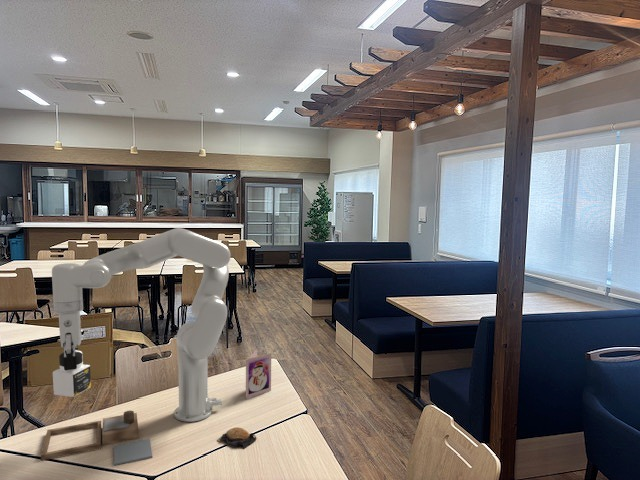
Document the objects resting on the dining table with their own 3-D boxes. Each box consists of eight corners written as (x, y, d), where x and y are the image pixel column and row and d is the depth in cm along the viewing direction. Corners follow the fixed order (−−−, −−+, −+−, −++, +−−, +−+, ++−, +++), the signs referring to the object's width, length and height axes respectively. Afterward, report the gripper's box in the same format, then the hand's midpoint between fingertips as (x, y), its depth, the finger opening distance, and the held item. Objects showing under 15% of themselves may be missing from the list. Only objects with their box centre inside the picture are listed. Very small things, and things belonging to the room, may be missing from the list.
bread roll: (214, 443, 137) (214, 432, 137) (232, 430, 145) (232, 419, 145) (242, 453, 133) (242, 441, 132) (259, 439, 140) (259, 428, 140)
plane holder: (136, 418, 150) (136, 401, 150) (139, 441, 137) (138, 422, 136) (47, 434, 140) (46, 415, 139) (40, 460, 126) (40, 440, 125)
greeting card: (247, 400, 165) (247, 360, 164) (236, 393, 171) (236, 354, 169) (272, 391, 173) (272, 353, 172) (261, 385, 179) (261, 348, 177)
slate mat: (149, 439, 138) (149, 438, 138) (152, 457, 129) (152, 455, 128) (113, 447, 133) (113, 445, 133) (114, 465, 124) (113, 463, 124)
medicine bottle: (74, 397, 130) (72, 357, 129) (53, 395, 132) (50, 355, 130) (91, 387, 137) (89, 349, 136) (71, 385, 139) (69, 347, 137)
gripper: (81, 311, 126) (84, 374, 127) (84, 298, 141) (87, 354, 143) (50, 314, 122) (53, 378, 124) (56, 300, 138) (59, 357, 140)
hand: (71, 364), depth 134 cm, fingers closed on medicine bottle, 6 cm apart
